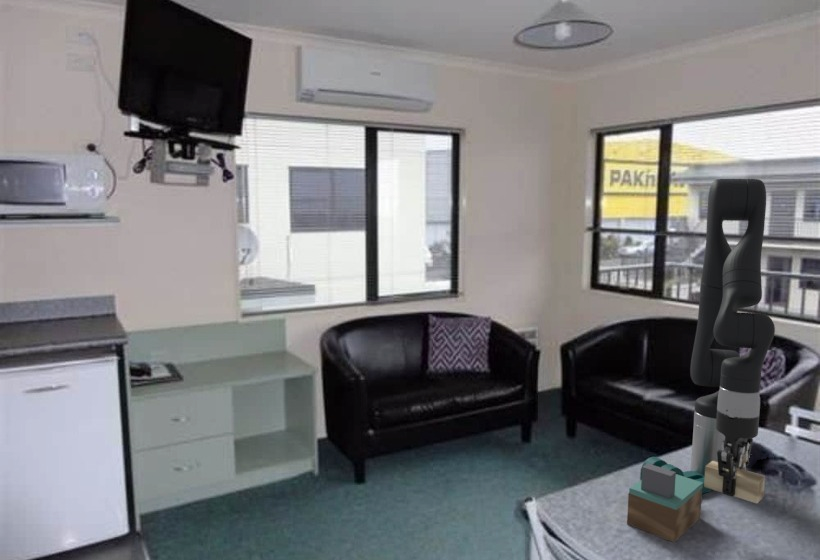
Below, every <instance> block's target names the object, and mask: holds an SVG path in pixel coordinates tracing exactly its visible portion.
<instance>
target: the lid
mask: <svg viewBox="0 0 820 560" xmlns="http://www.w3.org/2000/svg"><path fill="white" fill-rule="evenodd" d="M641 468H642V480H640V479H639V481H637V482H636V483H634V484H633V485H632V486H630V487H629V488H628V494H629V493H630V494H633V495H635V496H638V497H641V498H644V499H647V500H649V501H652V502H655V503H658V504H661V505H663V506H666V507H669V508H672V509H674V510H677V509H678V508H680V507H681V506H682V505H683V504H684V503H685V502H687V501H688V500H689V499H690V498H691V497H692V496H694V495H695V494H696V493H697V492H698V491H699V490H701V489H702V488H703V482H700V481H696V480H693V479H690V478H687V477H684V476H680V475H677V474H676V472H674V471H671V470H667V469H664V468H661V467H658V466H655V465H651V464H648V463H647V464H646V465H644V466H643V467H642V466H641Z"/></svg>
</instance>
